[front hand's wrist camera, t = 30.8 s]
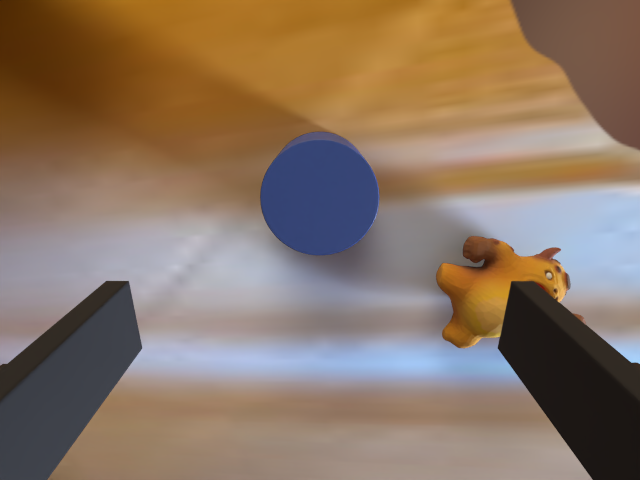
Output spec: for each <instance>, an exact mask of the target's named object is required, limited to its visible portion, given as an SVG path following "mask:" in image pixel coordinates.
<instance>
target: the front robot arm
mask: <svg viewBox="0 0 640 480" xmlns="http://www.w3.org/2000/svg"><path fill="white" fill-rule="evenodd" d="M141 349H142V345H141V340H140V335H139V330H138V325H137V320H136V315H135V310H134V305H133V300H132V295H131V290H130V285H129V281H106V282H105V283H103V284H102V285H101V286H100V287H99V288H98V289H96V290H95V291H94V292H93V293H92V294H90V295H89V296H88V297H87V298H86V299H84V300H83V301H82V302H81V303H80V304H78V305H77V306H76V307H75V308H74V309H72V310H71V311H70V312H69V313H68V314H66V315H65V316H64V317H63V318H62V319H60V320H59V321H58V322H57V323H56V324H55V325H53V326H52V327H51V328H50V329H49V330H47V331H46V332H45V333H44V334H43V335H41V336H40V337H39V338H38V339H37V340H35V341H34V342H33V343H32V344H31V345H29V346H28V347H27V348H26V349H25V350H23V351H22V352H21V353H20V354H19V355H17V356H16V357H15V358H14V359H13V360H12V361H10V362H9V363H8V364H2V365H1V366H0V480H47V479H48V478H49V476H50V475H51V474H52V472H53V471H54V469H55V468H56V467H57V465H58V464H59V463H60V461H61V460H62V458H63V457H64V456H65V454H66V453H67V451H68V450H69V449H70V447H71V446H72V445H73V443H74V442H75V440H76V439H77V438H78V436H79V435H80V434H81V432H82V431H83V429H84V428H85V427H86V425H87V424H88V422H89V421H90V420H91V418H92V417H93V416H94V414H95V413H96V411H97V410H98V409H99V407H100V406H101V404H102V403H103V402H104V400H105V399H106V398H107V396H108V395H109V393H110V392H111V391H112V389H113V388H114V386H115V385H116V384H117V382H118V381H119V380H120V378H121V377H122V375H123V374H124V373H125V371H126V370H127V369H128V367H129V366H130V364H131V363H132V362H133V360H134V359H135V357H136V356H137V355H138V353H139V352H140V351H141ZM498 349H499V351H500V352H501V353H502V355H503V356H504V357H505V359H506V360H507V362H508V363H509V364H510V366H511V367H512V369H513V370H514V371H515V373H516V374H517V375H518V377H519V378H520V380H521V381H522V382H523V384H524V385H525V386H526V388H527V389H528V391H529V392H530V393H531V395H532V396H533V398H534V399H535V400H536V402H537V403H538V404H539V406H540V407H541V409H542V410H543V411H544V413H545V414H546V416H547V417H548V418H549V420H550V421H551V422H552V424H553V425H554V427H555V428H556V429H557V431H558V432H559V434H560V435H561V436H562V438H563V439H564V440H565V442H566V443H567V445H568V446H569V447H570V449H571V450H572V452H573V453H574V454H575V456H576V457H577V458H578V460H579V461H580V463H581V464H582V465H583V467H584V468H585V469H586V471H587V472H588V474H589V475H590V476H591V478H592V479H593V480H640V364H639V363H631V362H630V361H628V360H627V359H626V358H625V357H624V356H623V355H621V354H620V353H619V352H618V351H617V350H615V349H614V348H613V347H612V346H611V345H609V344H608V343H607V342H606V341H605V340H603V339H602V338H601V337H600V336H599V335H597V334H596V333H595V332H594V331H593V330H591V329H590V328H589V327H588V326H587V325H585V324H584V323H583V322H582V321H581V320H580V319H578V318H577V317H576V316H575V315H574V314H572V313H571V312H570V311H569V310H568V309H566V308H565V307H564V306H563V305H562V304H560V303H559V302H558V301H557V300H556V299H554V298H553V297H552V296H551V295H550V294H548V293H547V292H546V291H545V290H544V289H542V288H541V287H540V286H539V285H538V284H537V283H535V282H534V281H511V285H510V290H509V295H508V300H507V305H506V310H505V315H504V320H503V325H502V330H501V335H500V340H499V345H498Z"/></svg>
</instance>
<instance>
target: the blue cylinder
mask: <svg viewBox="0 0 640 480" xmlns="http://www.w3.org/2000/svg"><path fill="white" fill-rule="evenodd" d="M260 199H261V208H262V213H263V215H264V218H265V221H266V223H267V225H268V226H269V228H270V229H271V231H272V232H273V233H274V235H275V236H276V237H277V238H278V239H279V240H280V241H281V242H283V243H284V244H286V245H287V246H288V247H290V248H292V249H294V250H296V251H299V252H302V253H306V254H311V255H329V254H334V253H338V252H341V251H343V250H346V249H347V248H349V247H351V246H353V245H354V244H356V243H357V242H358V241H359V240H360V239H361V238H363V237H364V235H365V234H366V233H367V232H368V230H369V229H370V227H371V226H372V224H373V222H374V220H375V217H376V214H377V211H378V206H379V188H378V184H377V180H376V177H375V175H374V173H373V171H372V169H371V167H370V166H369V164H368V163H367V161H366V160H365V159H364V158H363V156H362V155H361V154H360V153H359V151H358V150H357V149H356V148H355V147H354V146H353V145H352V144H351V143H350V142H349V141H347V140H346V139H344V138H343V137H341V136H338V135H336V134H332V133H328V132H312V133H307V134H304V135H301V136H299V137H297V138H295V139H294V140H292V141H291V142H290V143H288V144H287V145H286V146H285V147H284V148H283V150H282V151H281V152H280V153H279V155H278V156H277V157H276V158H275V160H274V161H273V162H272V164H271V165H270V166H269V168H268V170H267V172H266V174H265V176H264V179H263V182H262V187H261V195H260Z"/></svg>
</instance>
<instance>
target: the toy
mask: <svg viewBox="0 0 640 480" xmlns="http://www.w3.org/2000/svg"><path fill="white" fill-rule="evenodd" d="M559 251H561V249H559V248H549V249H546V250H544V251H543V252H542V253H540V254H536V255H534V256H528V257H521V256H518V255H517V254H515V253H514V250H513V248H512V247H510V246H509V245H508V244H507V243H505V242H502V241H499V240H496V239H486V238H484V237H477V236H471V237H469V238H468V239H467V240H466V242H465V244H464V247H463V256H464V257H465V258H467V259H470V260H471V261H472V262H474V263H478V262H479V261H481V260H483V259H484V260H485V261H484V264H483V266H482V267H469V266H457V265H453V264H449V263H442V265H441V266H440V267H439V269H438V271H437V274H436V280H437V284H438V285H439V287H440V288H441V289H442V290H443V291H444V292H445V293H446V294H447V295H448V296H449V297H450V299H451V303H452V307H453V311H454V313H453V316H452V319H451V321H450V322H449V324H448V325H447V326H446V327H445V328H444V329H443V332H442V336H443V338H444V339H445V340H446V341H449V342H451V343H452V344H454V345H455V346H456V347H458V348H468V347H471V346H473V345H475V344H476V343H477V342H478V341H479V340H480V339H481V338H495V337H500V335H501V330H502V325H503V320H504V315H505V310H506V305H507V300H508V295H509V290H510V285H511V281H534V282H535V283H537V284H538V285H539V286H540V287H541V288H542V289H544V290H545V291H546V292H547V293H548V294H550V295H551V296H552V297H553V298H554V299H556V300H557V301H558V302H560V301H561V300H562V299H563V297H564V296H565V295H566V291H567V290H569V289H570V278H569V275H568V274H567V273H566V272H565V270H564V269H563V267H562V266H561V265H560V262H558V261H557V260H555V259H552V257H553V256H554V255H555V254H556V253H558V252H559ZM572 314H573V313H572ZM574 315H575V316H576V317H577V318H578V319H580V320H581V321H582V322H583V323H584V324H585V325H586V322H585V320H584V318H583V317H582V316H581V315H578V314H574Z"/></svg>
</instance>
